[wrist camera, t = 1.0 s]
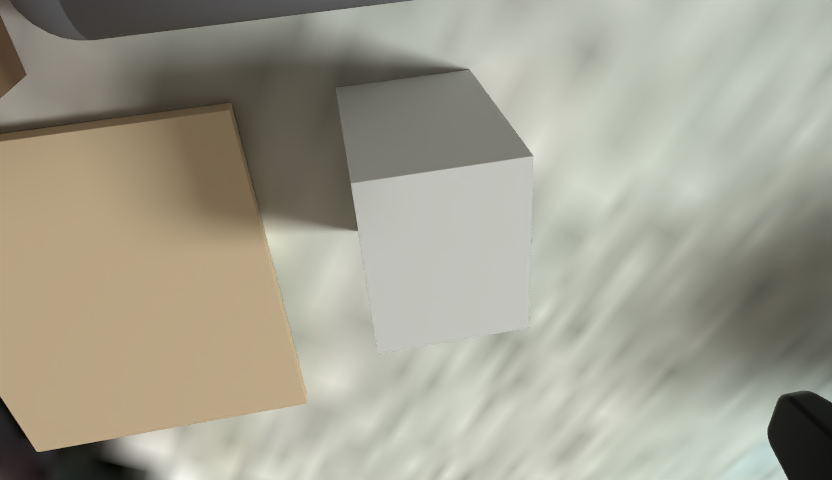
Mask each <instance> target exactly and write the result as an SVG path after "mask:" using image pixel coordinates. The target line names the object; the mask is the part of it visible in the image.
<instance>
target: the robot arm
mask: <svg viewBox="0 0 832 480" xmlns="http://www.w3.org/2000/svg"><path fill="white" fill-rule="evenodd" d="M767 434H768V439H769V442H770V445H771V447H772V449H773V451H774V453H775V455H776V457H777V459H778V461H779V463H780V464H781V466H782V468H783V470H784V472H785V474H786V476H787V478H788V480H832V402H830V401H828V400H826V399H824V398H823V397H821V396H819V395H817V394H815V393H813V392H810V391H799V392H793V393H788V394H784V395H782V396H781V397H780V398H779V399H778V401H777V404H776V406H775V409H774V412H773V415H772V417H771V420H770V423H769V426H768V433H767Z"/></svg>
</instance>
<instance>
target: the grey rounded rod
mask: <svg viewBox="0 0 832 480" xmlns="http://www.w3.org/2000/svg"><path fill="white" fill-rule="evenodd" d="M10 1H11V3H12V4H13V6H14V7H15V8H16V9H17V10H18V11H19V12H20V13H21V14H22V15H23V16H24V17H25V18H27V19H28V20H29V21H30V22H31V23H32V24H34V25H36V26H38V27H39V28H41V29H43V30H44V31H46V32H48V33H51V34H54V35H56V36H59V37H62V38H67V39H73V40H97V39H105V38H113V37H121V36H129V35H137V34H146V33H154V32H162V31H170V30H178V29H186V28H194V27H202V26H210V25H218V24H226V23H234V22H242V21H250V20H258V19H266V18H274V17H282V16H290V15H298V14H306V13H314V12H322V11H330V10H338V9H346V8H354V7H362V6H370V5H378V4H386V3H394V2H402V1H410V0H10Z"/></svg>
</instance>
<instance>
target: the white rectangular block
mask: <svg viewBox="0 0 832 480" xmlns="http://www.w3.org/2000/svg"><path fill="white" fill-rule="evenodd" d="M335 89H336V95H337V101H338V107H339V114H340V120H341V126H342V133H343V139H344V145H345V151H346V158H347V164H348V170H349V177H350V183H351V189H352V195H353V202H354V208H355V214H356V220H357V227H358V233H359V239H360V245H361V252H362V258H363V264H364V270H365V277H366V283H367V289H368V295H369V301H370V308H371V314H372V320H373V326H374V332H375V339H376V345H377V351H378V354H383V353H389V352H394V351H400V350H406V349H411V348H417V347H423V346H428V345H434V344H440V343H446V342H451V341H457V340H463V339H468V338H474V337H480V336H485V335H491V334H497V333H502V332H508V331H514V330H520V329H525V328H529V304H530V267H531V231H532V194H533V157H534V156H533V155H532V153H531V152H530V151H529V149H528V148H527V147H526V145H525V144H524V142H523V141H522V140H521V138H520V137H519V136H518V134H517V133H516V132H515V130H514V129H513V128H512V126H511V125H510V124H509V122H508V121H507V119H506V118H505V117H504V115H503V114H502V113H501V111H500V110H499V109H498V107H497V106H496V105H495V103H494V102H493V101H492V99H491V98H490V96H489V95H488V94H487V92H486V91H485V90H484V88H483V87H482V86H481V84H480V83H479V82H478V80H477V79H476V78H475V76H474V75H473V73H472V72H471V71H470V70H462V71H455V72H448V73H440V74H433V75H425V76H418V77H411V78H403V79H396V80H389V81H381V82H374V83H367V84H359V85H352V86H344V87H337V88H335Z"/></svg>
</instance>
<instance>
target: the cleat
mask: <svg viewBox="0 0 832 480" xmlns="http://www.w3.org/2000/svg"><path fill="white" fill-rule="evenodd" d="M24 76H26V72H25V70H24V68H23V66H22V63H21V61H20V59H19V57H18V54H17V52H16V50H15V48H14V45H13V43H12V41H11V39H10V36H9V34H8V32H7V30H6V27H5V25H4V23H3V20H2V18H1V16H0V98H1V97H3V96H4V95H5V94H6V93H7V92H8V91H9V90H10V89H11V88H12V87H13V86H15V85H16V84H17V83H18V82H19V81H20V80H21V79H22V78H23V77H24Z"/></svg>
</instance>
